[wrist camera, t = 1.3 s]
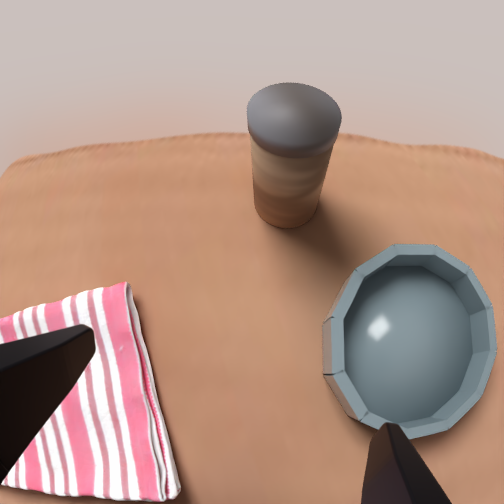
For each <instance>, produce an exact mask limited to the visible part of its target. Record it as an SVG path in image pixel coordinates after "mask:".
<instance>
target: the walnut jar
mask: <svg viewBox="0 0 504 504" xmlns="http://www.w3.org/2000/svg"><path fill="white" fill-rule="evenodd" d="M247 119H248V130H249V133H250V140H251V156H252V172H253V189H254V204H255V208H256V210H257V212H258V214H259V215H260V217H261V218H262V219H263V220H265V221H266V222H267V223H269V224H271V225H273V226H276V227H280V228H294V227H298V226H301V225H303V224H305V223H306V222H307V221H309V220H310V219H311V218H312V216H313V215H314V213H315V211H316V207H317V204H318V200H319V197H320V193H321V190H322V186H323V182H324V179H325V175H326V171H327V168H328V164H329V160H330V156H331V152H332V149H333V145H334V143H335V141H336V139H337V136H338V132H339V128H340V124H341V119H342V117H341V111H340V108H339V107H338V105H337V103H336V102H335V101H334V100H333V99H332V98H331V97H330V96H329V95H328V94H326V93H325V92H323V91H321V90H319V89H317V88H315V87H312V86H309V85H305V84H299V83H280V84H274V85H270V86H268V87H265V88H263V89H261V90H260V91H258V92H257V93H256V94H254V95H253V97H252V98H251V99H250V101H249V103H248V106H247Z"/></svg>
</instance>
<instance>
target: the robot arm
mask: <svg viewBox="0 0 504 504" xmlns="http://www.w3.org/2000/svg"><path fill="white" fill-rule="evenodd" d="M95 351H96V345H95V336H94V331H93V329H92V328H91V327H89V326H87V325H85V324H79V325H75V326H71V327H67V328H63V329H59V330H55V331H51V332H47V333H43V334H39V335H35V336H31V337H27V338H23V339H19V340H15V341H11V342H7V343H2V344H0V485H1V483H2V482H3V480H4V479H5V478H6V476H7V475H8V473H9V472H10V470H11V469H12V467H13V466H14V465H15V463H16V462H17V461H18V459H19V458H20V456H21V455H22V454H23V452H24V451H25V450H26V448H27V447H28V446H29V444H30V443H31V442H32V440H33V439H34V438H35V436H36V435H37V434H38V432H39V431H40V430H41V428H42V427H43V426H44V424H45V423H46V422H47V421H48V419H49V418H50V417H51V415H52V414H53V413H54V412H55V410H56V409H57V408H58V406H59V405H60V404H61V403H62V401H63V400H64V399H65V398H66V396H67V395H68V394H69V393H70V391H71V390H72V389H73V387H74V386H75V384H76V383H77V381H78V379H79V378H80V376H81V375H82V373H83V371H84V370H85V368H86V367H87V365H88V364H89V362H90V361H91V359H92V358H93V356H94V354H95ZM361 504H452V503H451V502H450V500H449V498H448V497H447V495H446V494H445V492H444V491H443V489H442V488H441V486H440V485H439V483H438V482H437V480H436V479H435V477H434V476H433V474H432V473H431V471H430V470H429V468H428V467H427V465H426V464H425V462H424V461H423V459H422V458H421V456H420V455H419V454H418V452H417V451H416V449H415V448H414V446H413V445H412V443H411V442H410V440H409V439H408V437H407V436H406V434H405V433H404V431H403V430H402V429H401V427H400V426H399V425H398V424H397V423H390V422H385V423H384V424H383V425H382V426H381V427H380V428H379V430H378V431H377V432H376V434H375V435H374V436H373V438H372V439H371V442H370V446H369V452H368V459H367V465H366V471H365V476H364V482H363V488H362V499H361Z"/></svg>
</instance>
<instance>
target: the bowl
mask: <svg viewBox="0 0 504 504" xmlns="http://www.w3.org/2000/svg"><path fill="white" fill-rule="evenodd" d="M469 268H470V267H469V266H468V265H466V264H465V263H463V262H462V261H460V260H459V259H457V258H456V257H454V256H453V255H451V254H449V253H448V252H446V251H445V250H443V249H441V248H440V247H438V246H437V245H436V246H435V245H423V244H394V245H391V246H390V247H388V248H387V249H385V250H384V251H382V252H381V253H379V254H378V255H376V256H374V257H373V258H371V259H370V260H368V261H367V262H365V263H363V264H362V265H360V266H359V267H357V268H356V269H355V270H354V271H353V272H352V273H351V275H350V276H349V277H348V278H347V280H346V281H345V282H344V283H343V285H342V287H341V289H340V291H339V293H338V295H337V297H336V299H335V301H334V303H333V305H332V307H331V309H330V311H329V313H328V314H327V316H326V318H325V320H324V322H323V325H322V336H323V374H325V375H323V376H324V377H325V379H326V381H327V382H328V384H329V386H330V387H331V389H332V391H333V392H334V394H335V396H336V397H337V399H338V401H339V402H340V404H341V406H342V407H343V409H344V411H345V412H346V414H347V415H348V416H349V417H351V418H354V419H356V420H358V421H360V422H362V423H364V424H367V425H369V426H371V427H373V428H375V429H378V430H379V428H380V427H381V426H382V425H383V424H384V423H385V422H390V423H397V424H398V425H399V426H400V427H401V429H402V430H403V431H404V433H405V434H406V436H407V437H408V439H413V438H418V437H422V436H426V435H431V434H435V433H438V432H442V431H446V430H448V429H450V428H451V427H452V426H453V425H454V424H455V423H456V422H457V421H458V420H459V419H460V418H461V417H462V416H464V415H465V414H466V413H467V412H468V410H469V409H470V408H471V407H472V406H473V405H474V404H475V403H476V402H477V401H478V400H479V399H480V398H481V396H482V395H483V392H484V389H485V387H486V384H487V381H488V378H489V375H490V372H491V369H492V366H493V363H494V360H495V357H496V353H497V352H495V351H497V343H496V331H495V321H494V312H493V306H491V305H492V303H491V301H490V300H489V298H488V296H487V294H486V292H485V291H484V289H483V287H482V286H481V284H480V282H479V280H478V279H477V277H476V275H475V274H474V272H473V270H472V269H471V268H470V269H469Z"/></svg>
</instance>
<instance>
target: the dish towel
mask: <svg viewBox="0 0 504 504" xmlns="http://www.w3.org/2000/svg"><path fill="white" fill-rule="evenodd" d="M79 324H85V325H87V326H89V327H91V328H92V329H93V331H94V336H95V345H96V351H95V354H94V356H93V358H92V359H91V361H90V362H89V364H88V365H87V367H86V368H85V370H84V371H83V373H82V375H81V376H80V378H79V379H78V381H77V383H76V384H75V386H74V387H73V389H72V390H71V391H70V393H69V394H68V395H67V396H66V398H65V399H64V400H63V401H62V403H61V404H60V405H59V406H58V408H57V409H56V410H55V412H54V413H53V414H52V415H51V417H50V418H49V419H48V421H47V422H46V423H45V424H44V426H43V427H42V428H41V430H40V431H39V432H38V434H37V435H36V436H35V438H34V439H33V440H32V442H31V443H30V444H29V446H28V447H27V448H26V450H25V451H24V452H23V454H22V455H21V456H20V458H19V459H18V461H17V462H16V463H15V465H14V466H13V467H12V469H11V470H10V472H9V473H8V475H7V476H6V478H5V479H4V480H3V482H2V483H1V485H5V486H10V487H12V488H21V489H25V490H27V489H31V490H36V491H40V492H44V493H46V494H56V495H59V496H72V497H78V496H95V497H97V498H103V499H107V498H109V499H113V500H117V501H122V500H124V501H126V500H129V501H156V502H164V501H165V500H172V499H175V498H176V497H177V495H178V494H179V492H180V491H181V485H180V482H179V478H178V473H177V469H176V465H175V462H174V458H173V454H172V450H171V446H170V442H169V437H168V433H167V429H166V426H165V422H164V419H163V416H162V412H161V409H160V406H159V402H158V398H157V393H156V389H155V384H154V378H153V374H152V369H151V364H150V360H149V356H148V353H147V349H146V346H145V343H144V340H143V337H142V333H141V327H140V321H139V316H138V312H137V309H136V307H135V304H134V301H133V295H132V290H131V286H130V284H129V283H128V282H122V283H119V284H116V285H114V286H112V287H108V288H97V289H94V290H88V291H84V292H82V293H79V294H77V295H74V296H70V297H67V298H65V299H63V300H61V301H58V302H54V303H50V304H41V305H38V306H34V307H31V308H27V309H25V310H24V311H19V312H17V313H15V314H13V315H11V316H8V317H5V318H0V344H2V343H7V342H11V341H15V340H19V339H23V338H27V337H31V336H35V335H39V334H43V333H47V332H51V331H55V330H59V329H63V328H67V327H71V326H75V325H79Z"/></svg>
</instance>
